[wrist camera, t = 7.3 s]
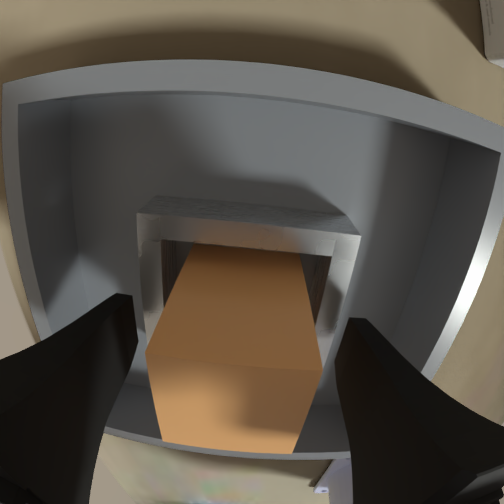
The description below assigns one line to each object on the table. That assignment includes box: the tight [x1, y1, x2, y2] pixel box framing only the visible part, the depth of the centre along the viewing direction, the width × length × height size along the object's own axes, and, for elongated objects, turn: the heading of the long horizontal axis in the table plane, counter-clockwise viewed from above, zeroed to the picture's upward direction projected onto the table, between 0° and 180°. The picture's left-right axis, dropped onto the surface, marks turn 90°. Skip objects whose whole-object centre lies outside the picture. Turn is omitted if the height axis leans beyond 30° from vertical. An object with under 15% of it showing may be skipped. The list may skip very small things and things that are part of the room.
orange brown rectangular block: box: [145, 244, 323, 454], centre depth 10 cm, size 4×4×6 cm
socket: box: [136, 196, 361, 368], centre depth 12 cm, size 7×7×2 cm
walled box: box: [2, 60, 504, 460], centre depth 12 cm, size 16×16×4 cm
